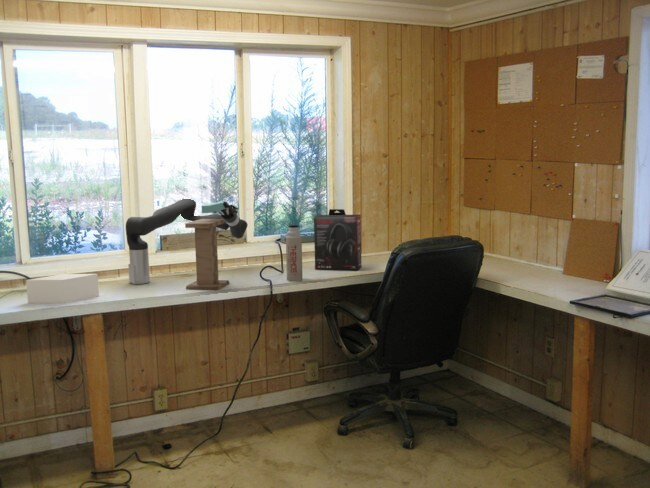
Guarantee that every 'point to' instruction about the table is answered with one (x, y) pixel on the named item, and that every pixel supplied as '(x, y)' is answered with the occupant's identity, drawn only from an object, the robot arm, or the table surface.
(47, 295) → the block
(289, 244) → the thermos bottle
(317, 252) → the headset box
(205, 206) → the teal bar
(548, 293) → the table surface
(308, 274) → the table surface
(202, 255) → the walnut stand
